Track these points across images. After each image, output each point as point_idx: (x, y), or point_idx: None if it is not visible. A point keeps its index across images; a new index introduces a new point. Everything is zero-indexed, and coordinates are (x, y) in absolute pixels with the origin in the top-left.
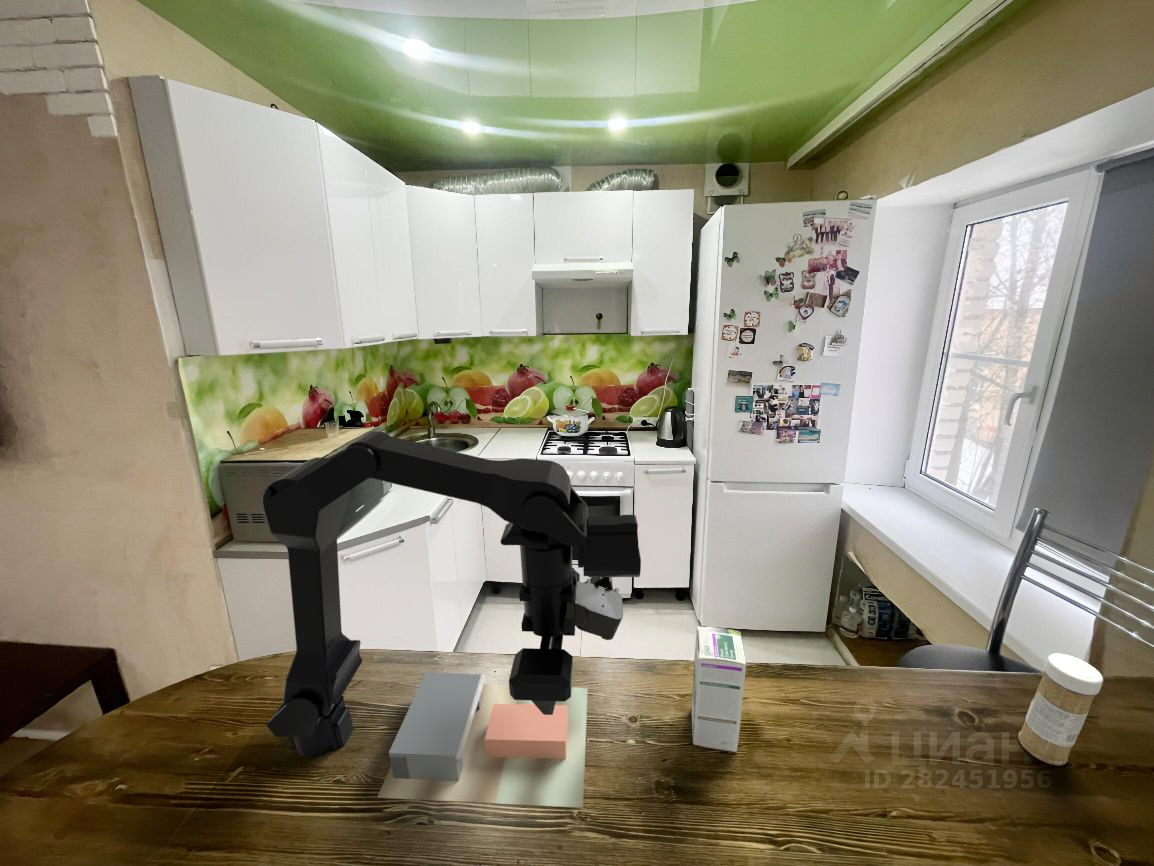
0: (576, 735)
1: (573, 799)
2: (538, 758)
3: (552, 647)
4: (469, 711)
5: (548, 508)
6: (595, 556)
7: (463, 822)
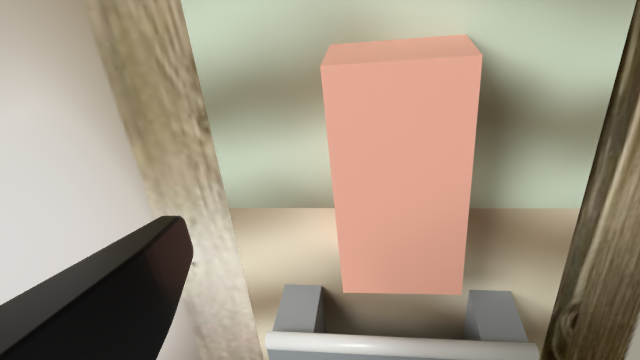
0: (379, 6)
1: None
2: None
3: (178, 276)
4: (395, 356)
5: None
6: None
7: (588, 254)
